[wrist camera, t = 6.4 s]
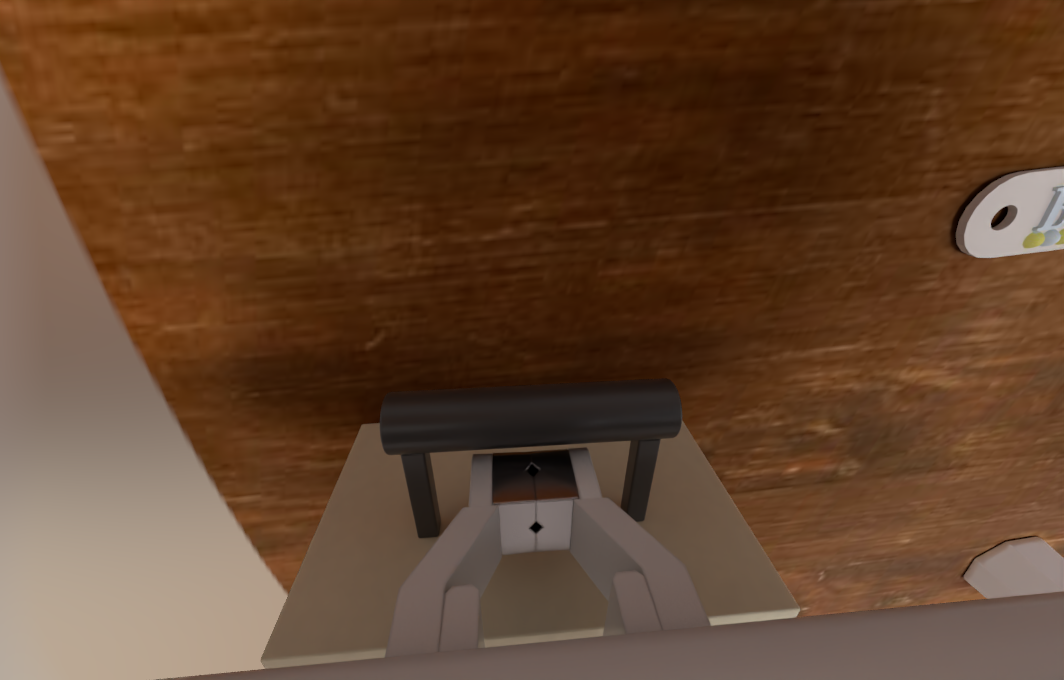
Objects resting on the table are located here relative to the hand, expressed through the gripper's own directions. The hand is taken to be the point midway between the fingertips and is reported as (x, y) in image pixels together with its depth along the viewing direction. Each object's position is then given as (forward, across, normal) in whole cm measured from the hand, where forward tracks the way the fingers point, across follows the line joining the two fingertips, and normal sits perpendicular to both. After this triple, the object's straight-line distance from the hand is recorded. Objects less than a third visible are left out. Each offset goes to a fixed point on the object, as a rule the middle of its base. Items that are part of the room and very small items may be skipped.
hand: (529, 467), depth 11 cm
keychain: (+6, -21, -5) cm, 23 cm away
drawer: (+5, 0, +6) cm, 8 cm away
